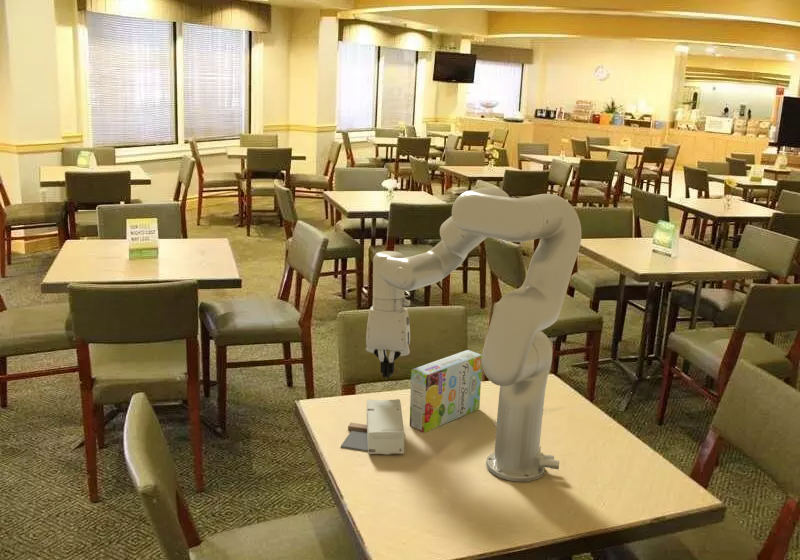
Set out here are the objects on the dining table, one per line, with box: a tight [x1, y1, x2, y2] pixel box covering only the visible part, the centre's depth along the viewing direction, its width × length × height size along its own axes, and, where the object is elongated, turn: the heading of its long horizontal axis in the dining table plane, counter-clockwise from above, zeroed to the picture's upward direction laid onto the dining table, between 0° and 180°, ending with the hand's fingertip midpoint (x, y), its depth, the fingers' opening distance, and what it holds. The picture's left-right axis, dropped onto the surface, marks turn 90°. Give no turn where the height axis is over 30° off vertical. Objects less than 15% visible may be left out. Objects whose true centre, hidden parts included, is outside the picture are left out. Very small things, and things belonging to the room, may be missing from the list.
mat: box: [340, 430, 394, 456], centre depth 172 cm, size 12×8×1 cm
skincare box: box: [366, 398, 405, 455], centre depth 172 cm, size 8×6×15 cm
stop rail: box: [347, 422, 367, 432], centre depth 177 cm, size 12×2×1 cm, turn 76°
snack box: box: [409, 349, 483, 434], centre depth 185 cm, size 21×6×15 cm, turn 136°
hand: (387, 375), depth 183 cm, fingers closed
